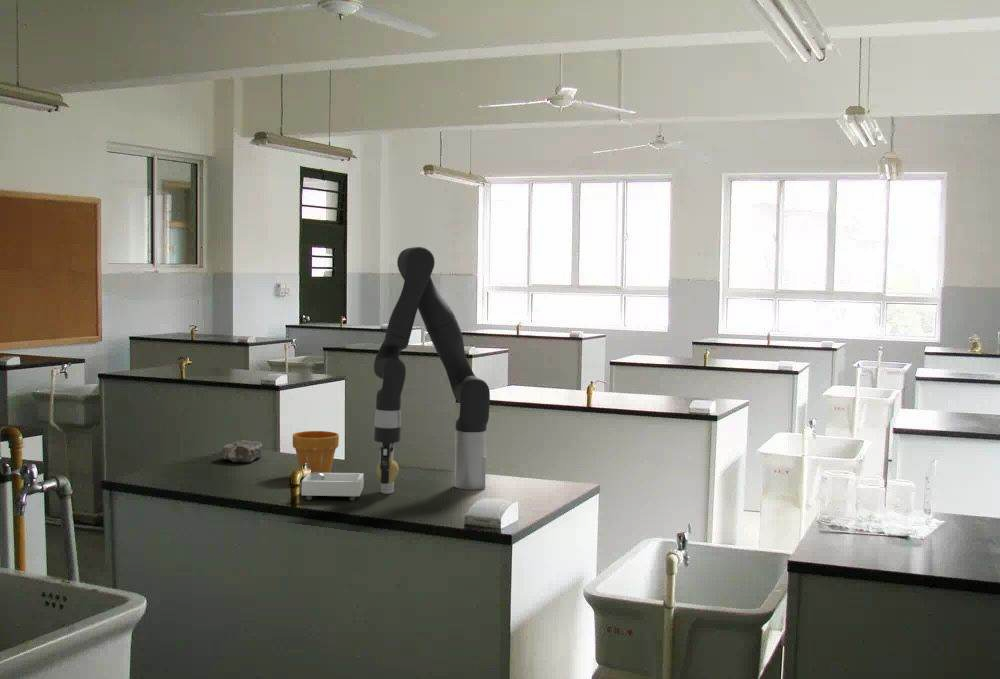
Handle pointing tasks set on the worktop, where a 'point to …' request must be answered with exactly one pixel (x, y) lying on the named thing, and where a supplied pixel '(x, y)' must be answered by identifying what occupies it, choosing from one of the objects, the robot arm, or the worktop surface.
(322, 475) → the grey rounded piece
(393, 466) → the amber frosted bulb
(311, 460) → the flower pot
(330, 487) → the tray
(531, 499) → the worktop surface
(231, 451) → the rock
